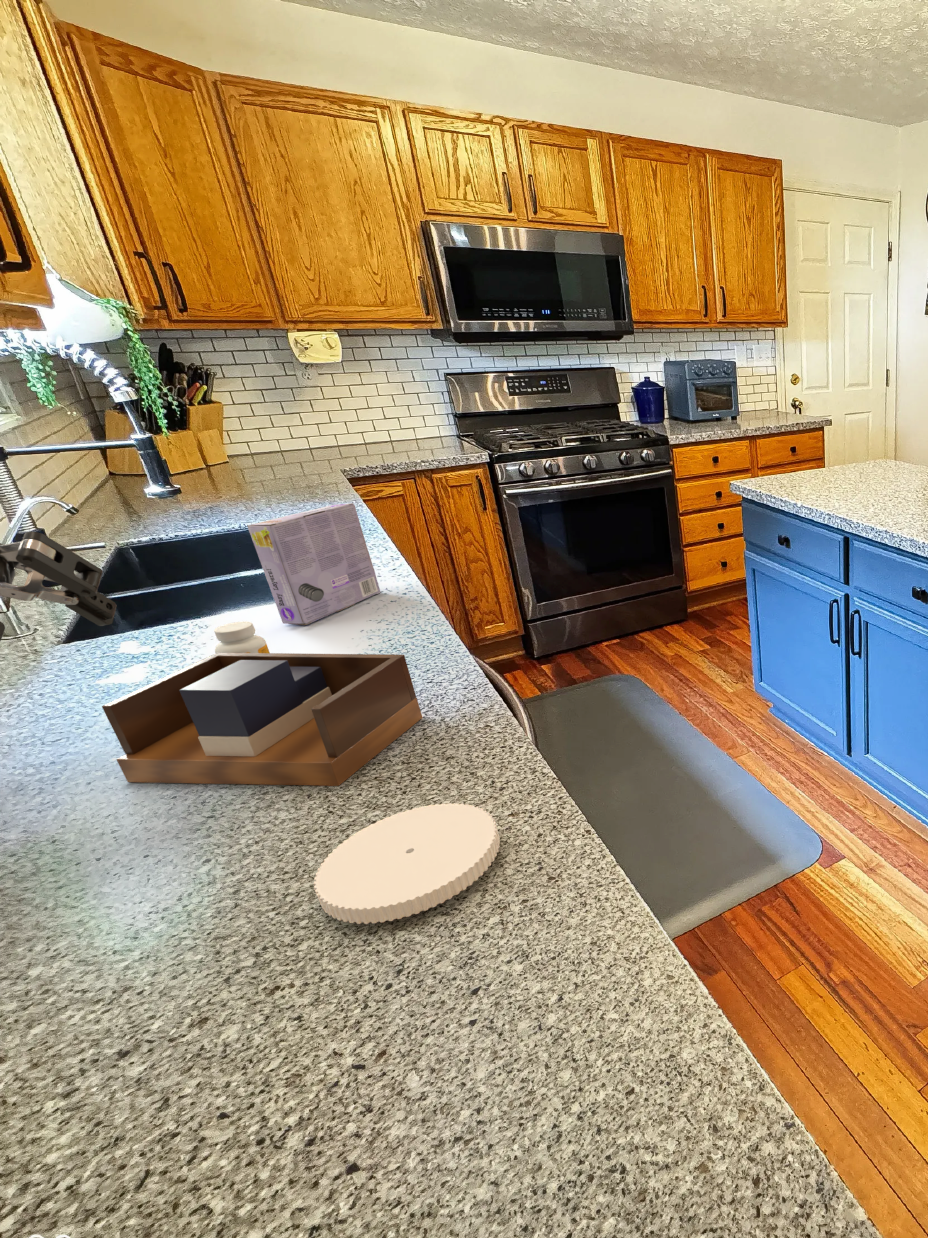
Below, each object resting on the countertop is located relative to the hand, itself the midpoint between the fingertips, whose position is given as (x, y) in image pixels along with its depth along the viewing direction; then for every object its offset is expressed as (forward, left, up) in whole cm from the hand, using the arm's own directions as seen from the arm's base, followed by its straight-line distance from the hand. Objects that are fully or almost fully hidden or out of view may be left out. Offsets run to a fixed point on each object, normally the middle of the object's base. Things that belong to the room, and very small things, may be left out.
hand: (54, 626), depth 62 cm
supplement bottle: (-13, +28, -21) cm, 37 cm away
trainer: (+3, +13, -18) cm, 22 cm away
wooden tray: (+3, +13, -21) cm, 25 cm away
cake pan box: (-26, +61, -21) cm, 69 cm away
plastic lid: (+32, -7, -21) cm, 39 cm away
